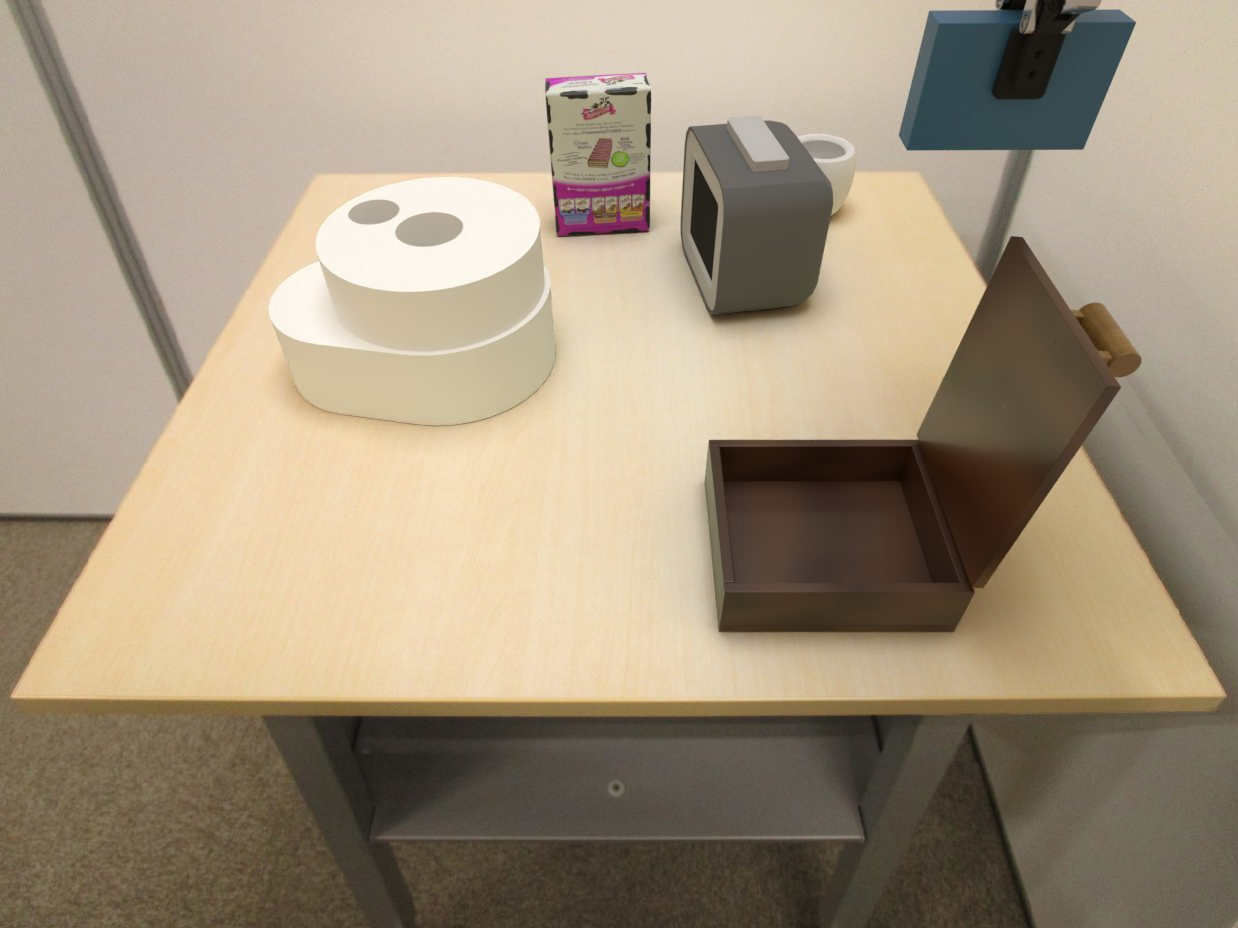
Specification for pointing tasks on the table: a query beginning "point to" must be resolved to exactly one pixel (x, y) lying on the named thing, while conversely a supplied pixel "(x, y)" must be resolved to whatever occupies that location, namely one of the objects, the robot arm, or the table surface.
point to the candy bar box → (600, 152)
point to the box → (830, 538)
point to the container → (421, 305)
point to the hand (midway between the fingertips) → (1008, 85)
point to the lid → (1017, 405)
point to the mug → (833, 162)
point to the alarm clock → (752, 215)
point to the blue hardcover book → (966, 72)
